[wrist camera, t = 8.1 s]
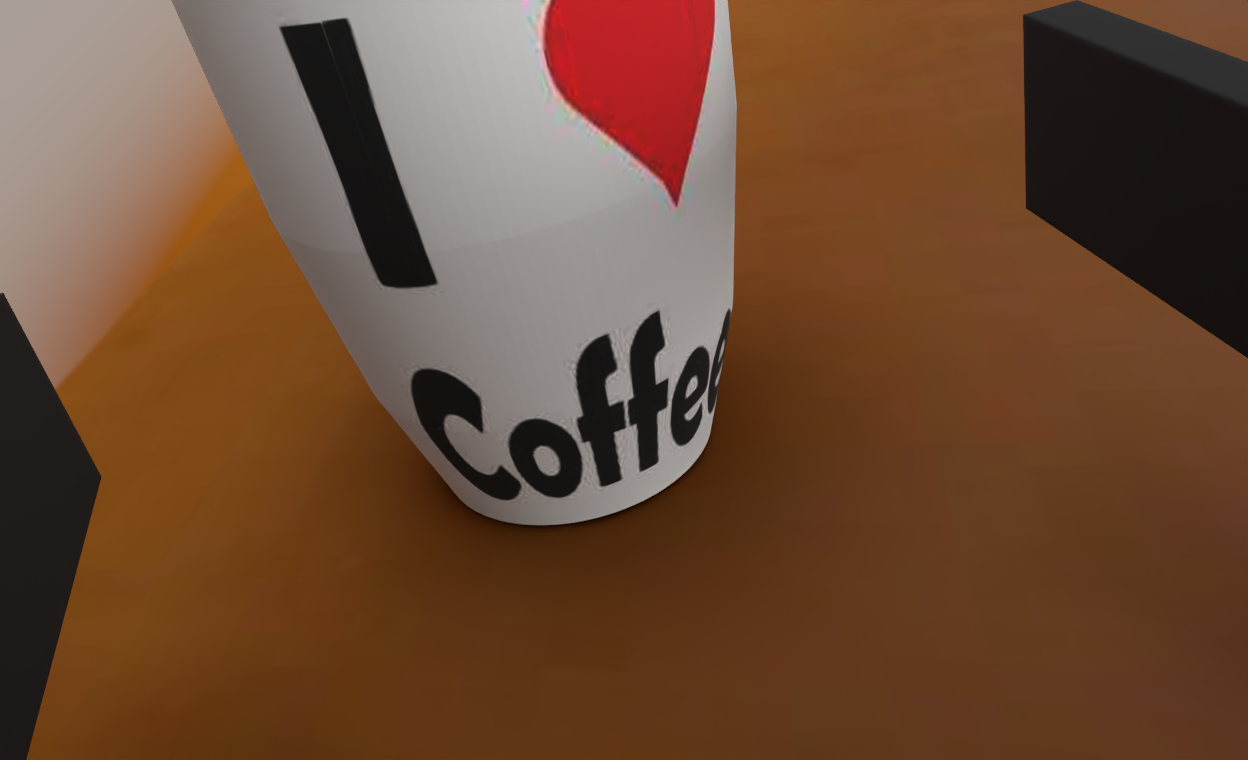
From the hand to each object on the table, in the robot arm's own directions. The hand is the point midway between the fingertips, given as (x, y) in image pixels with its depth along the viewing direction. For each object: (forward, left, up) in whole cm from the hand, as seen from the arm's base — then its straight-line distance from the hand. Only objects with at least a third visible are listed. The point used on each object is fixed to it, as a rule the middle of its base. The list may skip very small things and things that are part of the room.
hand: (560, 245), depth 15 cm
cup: (+1, +4, -6) cm, 8 cm away
